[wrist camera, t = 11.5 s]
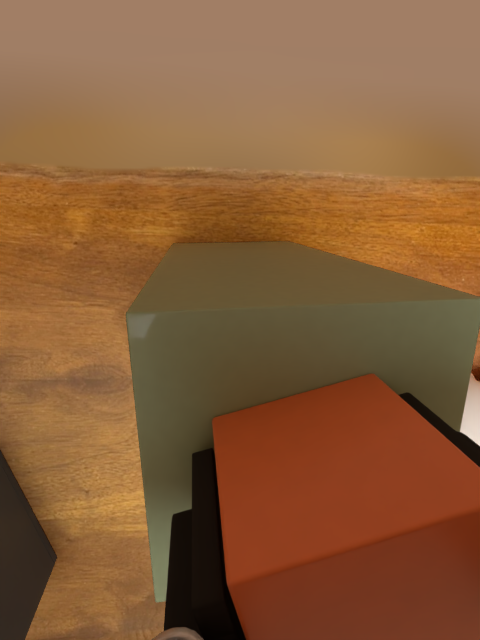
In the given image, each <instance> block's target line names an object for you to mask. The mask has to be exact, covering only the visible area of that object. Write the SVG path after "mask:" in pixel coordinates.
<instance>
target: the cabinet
mask: <svg viewBox="0 0 480 640" xmlns="http://www.w3.org/2000/svg"><path fill="white" fill-rule="evenodd" d="M56 559H57V556H56V554H55V552H54V551H53V549H52V547H51V545H50V543H49V541H48V539H47V537H46V536H45V534H44V532H43V530H42V528H41V526H40V524H39V522H38V520H37V519H36V517H35V515H34V513H33V511H32V509H31V507H30V505H29V504H28V502H27V500H26V498H25V496H24V494H23V492H22V490H21V489H20V487H19V485H18V483H17V481H16V479H15V477H14V475H13V473H12V472H11V470H10V468H9V466H8V464H7V462H6V460H5V458H4V457H3V455H2V453H1V451H0V640H25V638H26V635H27V633H28V630H29V627H30V625H31V622H32V620H33V617H34V615H35V612H36V610H37V607H38V605H39V602H40V600H41V597H42V595H43V592H44V589H45V587H46V584H47V582H48V579H49V577H50V574H51V572H52V569H53V567H54V564H55V561H56Z"/></svg>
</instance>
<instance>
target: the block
mask: <svg viewBox="0 0 480 640" xmlns="http://www.w3.org/2000/svg"><path fill="white" fill-rule="evenodd" d="M212 428H213V439H214V450H215V461H216V472H217V483H218V494H219V505H220V516H221V527H222V538H223V549H224V560H225V571H226V582H227V586H228V589H229V592H230V595H231V597H232V600H233V603H234V606H235V609H236V612H237V615H238V618H239V621H240V623H241V626H242V629H243V632H244V635H245V638H246V640H480V467H479V466H478V465H476V464H475V463H474V462H473V461H472V460H471V459H470V458H469V457H467V456H466V455H465V454H464V453H463V452H462V451H461V450H460V449H458V448H457V447H456V446H455V445H454V444H453V443H452V442H451V441H449V440H448V439H447V438H446V437H445V436H444V435H443V434H441V433H440V432H439V431H438V430H437V429H436V428H435V427H434V426H432V425H431V424H430V423H429V422H428V421H427V420H426V419H425V418H423V417H422V416H421V415H420V414H419V413H418V412H417V411H416V410H414V409H413V408H412V407H411V406H410V405H409V404H408V403H407V402H405V401H404V400H403V399H402V398H401V397H400V396H399V395H398V394H396V393H395V392H394V391H393V390H392V389H391V388H390V387H388V386H387V385H386V384H385V383H384V382H383V381H382V380H381V379H379V378H378V377H377V376H376V375H375V374H368V375H364V376H360V377H357V378H353V379H350V380H346V381H343V382H339V383H335V384H332V385H328V386H325V387H321V388H318V389H314V390H311V391H307V392H303V393H300V394H296V395H293V396H289V397H286V398H282V399H278V400H275V401H271V402H268V403H264V404H261V405H257V406H253V407H250V408H246V409H243V410H239V411H236V412H232V413H229V414H225V415H221V416H218V417H214V418H213V419H212Z"/></svg>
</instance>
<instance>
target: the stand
mask: <svg viewBox="0 0 480 640" xmlns="http://www.w3.org/2000/svg"><path fill="white" fill-rule="evenodd" d="M126 322H127V331H128V341H129V351H130V361H131V370H132V380H133V390H134V400H135V409H136V419H137V429H138V438H139V448H140V458H141V468H142V477H143V487H144V497H145V507H146V516H147V526H148V536H149V545H150V555H151V565H152V575H153V584H154V594H155V601H156V602H162V601H166V593H167V578H168V564H169V550H170V535H171V522H172V516H173V514H175V513H179V512H182V511H186V510H189V509H192V454H193V453H195V452H199V451H202V450H206V449H209V448H213V450H214V439H213V428H212V419H213V418H214V417H218V416H221V415H225V414H229V413H232V412H236V411H239V410H243V409H246V408H250V407H253V406H257V405H261V404H264V403H268V402H271V401H275V400H278V399H282V398H286V397H289V396H293V395H296V394H300V393H303V392H307V391H311V390H314V389H318V388H321V387H325V386H328V385H332V384H335V383H339V382H343V381H346V380H350V379H353V378H357V377H360V376H364V375H368V374H375V375H376V376H377V377H378V378H379V379H381V380H382V381H383V382H384V383H385V384H386V385H387V386H388V387H390V388H391V389H392V390H393V391H394V392H395V393H396V394H398V395H399V394H403V393H406V392H408V393H410V394H412V395H413V396H414V397H415V398H417V399H418V400H419V401H420V402H421V403H423V404H424V405H425V406H426V407H428V408H429V409H430V410H431V411H432V412H434V413H435V414H436V415H437V416H438V417H440V418H441V419H442V420H443V421H444V422H446V423H447V424H448V425H449V426H450V427H452V428H453V429H454V430H455V431H458V432H460V428H461V423H462V418H463V412H464V407H465V402H466V396H467V391H468V386H469V381H470V375H471V370H472V365H473V359H474V354H475V349H476V343H477V338H478V333H479V327H480V297H479V296H475V295H472V294H468V293H465V292H461V291H458V290H455V289H451V288H448V287H444V286H441V285H437V284H434V283H431V282H427V281H424V280H420V279H417V278H413V277H410V276H407V275H403V274H400V273H396V272H393V271H389V270H386V269H383V268H379V267H376V266H372V265H369V264H365V263H362V262H359V261H355V260H352V259H348V258H345V257H341V256H338V255H335V254H331V253H328V252H324V251H321V250H317V249H314V248H311V247H307V246H304V245H300V244H297V243H293V242H290V241H268V242H215V243H173V244H172V245H171V247H170V248H169V250H168V251H167V253H166V254H165V256H164V257H163V259H162V260H161V262H160V263H159V265H158V266H157V268H156V269H155V271H154V272H153V274H152V275H151V277H150V278H149V280H148V281H147V283H146V284H145V286H144V287H143V288H142V290H141V291H140V293H139V294H138V296H137V297H136V299H135V300H134V302H133V303H132V305H131V306H130V308H129V309H128V311H127V312H126ZM214 453H215V450H214Z"/></svg>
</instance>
